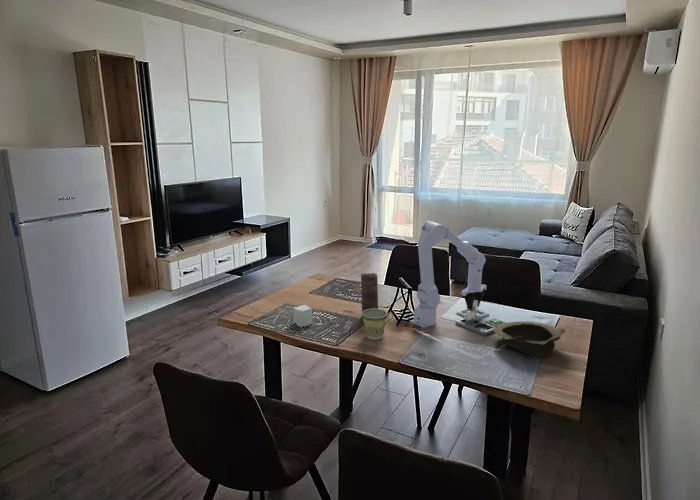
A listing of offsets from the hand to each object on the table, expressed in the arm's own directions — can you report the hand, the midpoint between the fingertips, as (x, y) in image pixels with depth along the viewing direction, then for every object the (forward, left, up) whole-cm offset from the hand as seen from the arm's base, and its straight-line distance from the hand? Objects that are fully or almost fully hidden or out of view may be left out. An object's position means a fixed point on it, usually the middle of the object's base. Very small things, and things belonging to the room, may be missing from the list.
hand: (472, 307), depth 202 cm
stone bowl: (-8, -32, -5) cm, 33 cm away
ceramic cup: (-46, +10, -5) cm, 47 cm away
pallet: (-10, -10, -4) cm, 15 cm away
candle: (-36, +28, -5) cm, 46 cm away
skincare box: (-64, +39, -5) cm, 75 cm away
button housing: (-1, -13, -4) cm, 14 cm away
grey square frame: (0, 0, -4) cm, 4 cm away
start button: (-1, -13, -5) cm, 14 cm away
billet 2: (-10, -7, -3) cm, 12 cm away
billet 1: (0, 0, -2) cm, 2 cm away
